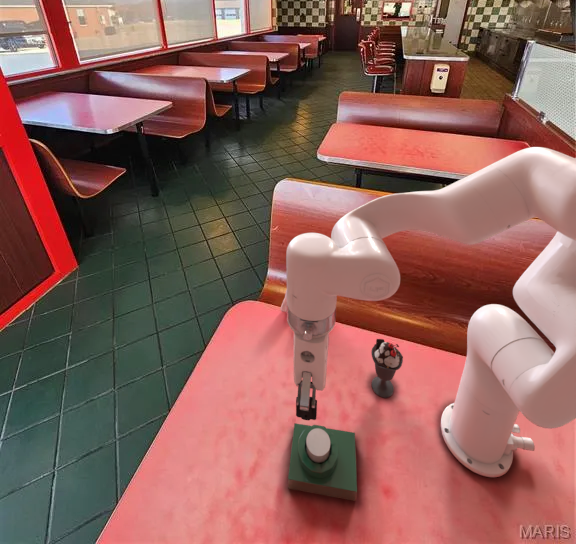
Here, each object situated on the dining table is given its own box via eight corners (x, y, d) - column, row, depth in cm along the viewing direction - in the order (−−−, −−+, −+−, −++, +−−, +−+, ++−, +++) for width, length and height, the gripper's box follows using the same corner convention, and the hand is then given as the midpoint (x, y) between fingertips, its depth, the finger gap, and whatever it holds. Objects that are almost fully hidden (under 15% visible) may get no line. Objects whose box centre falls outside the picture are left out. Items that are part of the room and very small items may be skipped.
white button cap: (330, 436, 63) (330, 430, 62) (329, 465, 59) (330, 458, 58) (307, 433, 63) (307, 426, 62) (305, 460, 59) (305, 454, 58)
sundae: (399, 404, 72) (407, 356, 67) (368, 398, 73) (373, 350, 68) (396, 375, 78) (403, 329, 73) (367, 370, 79) (372, 324, 74)
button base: (353, 441, 66) (355, 426, 64) (355, 501, 57) (357, 485, 56) (294, 432, 67) (294, 416, 66) (288, 488, 59) (287, 472, 57)
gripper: (334, 367, 42) (328, 448, 48) (337, 274, 58) (333, 345, 64) (276, 358, 43) (278, 439, 49) (295, 270, 59) (295, 339, 65)
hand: (309, 386), depth 57 cm, fingers open, 9 cm apart
